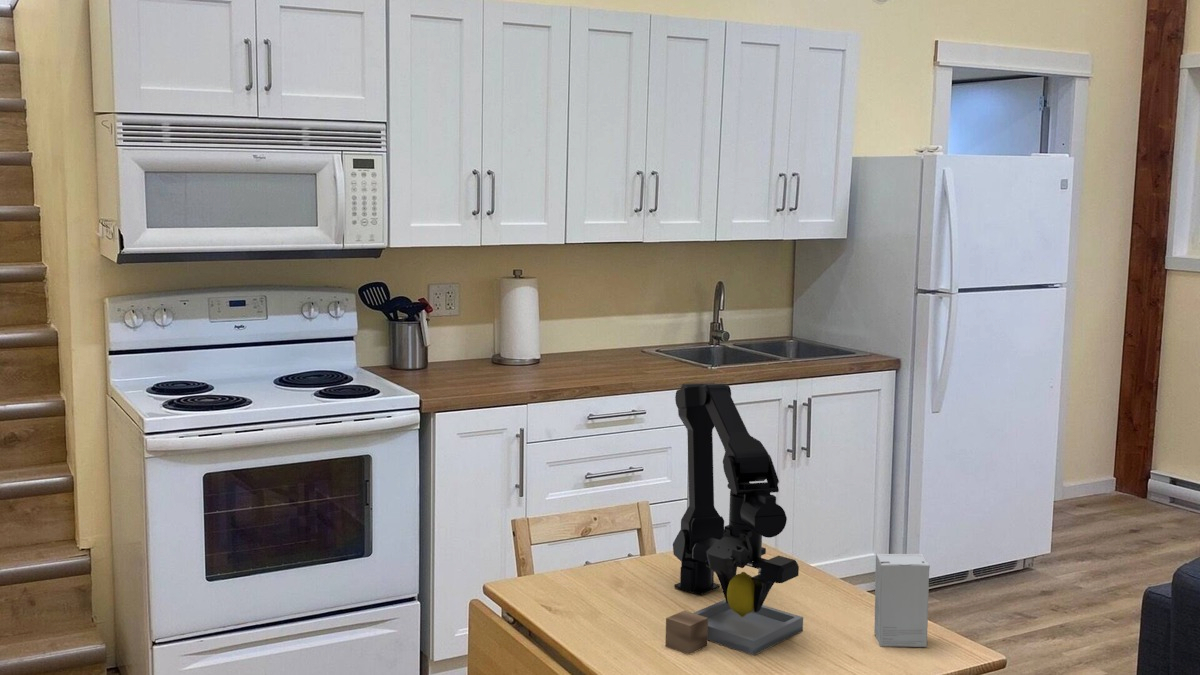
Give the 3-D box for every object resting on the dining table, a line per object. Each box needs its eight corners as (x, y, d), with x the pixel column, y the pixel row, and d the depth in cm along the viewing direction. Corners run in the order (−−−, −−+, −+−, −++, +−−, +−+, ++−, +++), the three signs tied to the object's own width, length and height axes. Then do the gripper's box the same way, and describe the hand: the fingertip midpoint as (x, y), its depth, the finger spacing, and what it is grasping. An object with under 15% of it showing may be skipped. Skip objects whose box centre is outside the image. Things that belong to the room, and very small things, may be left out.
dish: (732, 609, 217) (732, 596, 216) (802, 630, 207) (803, 617, 207) (681, 631, 206) (682, 617, 205) (753, 655, 196) (753, 641, 195)
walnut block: (683, 638, 203) (684, 610, 202) (707, 646, 200) (708, 617, 199) (665, 646, 199) (666, 618, 199) (689, 654, 196) (689, 626, 195)
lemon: (757, 623, 203) (758, 578, 202) (724, 621, 204) (726, 576, 203) (759, 612, 208) (760, 568, 207) (727, 609, 209) (729, 565, 208)
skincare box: (920, 635, 206) (924, 552, 204) (927, 649, 200) (932, 564, 198) (871, 633, 206) (875, 551, 204) (877, 647, 200) (881, 562, 198)
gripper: (674, 518, 204) (671, 605, 206) (764, 542, 192) (761, 634, 194) (712, 505, 212) (710, 589, 214) (802, 527, 200) (798, 616, 202)
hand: (742, 607), depth 206 cm, fingers closed on lemon, 5 cm apart
